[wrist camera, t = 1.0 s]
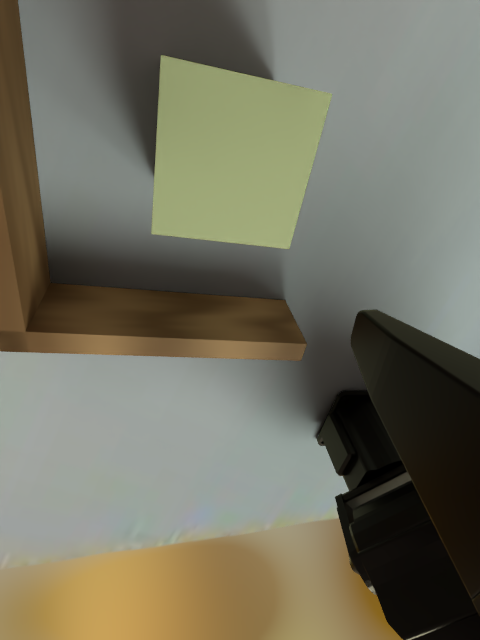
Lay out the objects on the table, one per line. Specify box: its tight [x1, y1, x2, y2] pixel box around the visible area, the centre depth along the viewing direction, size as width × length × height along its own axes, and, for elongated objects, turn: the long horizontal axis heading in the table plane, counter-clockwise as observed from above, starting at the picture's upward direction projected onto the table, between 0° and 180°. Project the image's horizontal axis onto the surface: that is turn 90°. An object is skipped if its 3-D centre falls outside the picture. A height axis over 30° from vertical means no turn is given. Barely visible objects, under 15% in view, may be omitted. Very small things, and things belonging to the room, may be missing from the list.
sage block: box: [151, 55, 332, 249], centre depth 14 cm, size 5×5×7 cm
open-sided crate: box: [0, 0, 307, 361], centre depth 15 cm, size 15×20×4 cm
